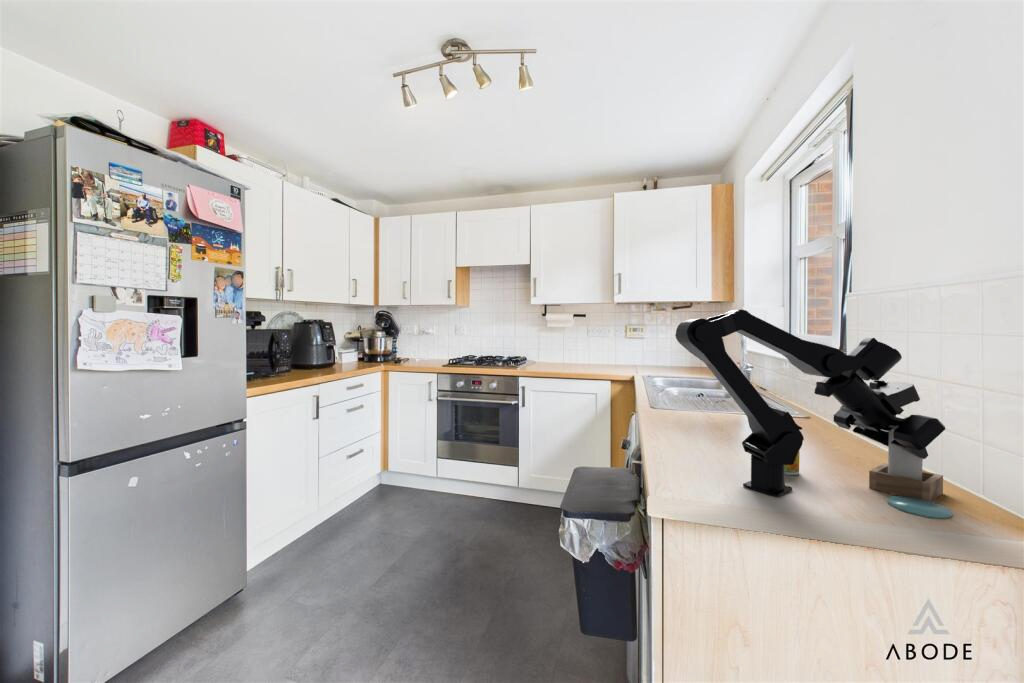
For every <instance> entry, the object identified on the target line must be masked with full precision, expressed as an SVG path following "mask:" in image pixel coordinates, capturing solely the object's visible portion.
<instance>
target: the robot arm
mask: <svg viewBox="0 0 1024 683" xmlns="http://www.w3.org/2000/svg"><path fill="white" fill-rule="evenodd" d="M733 333H737V334H739V335H742V336H743V337H746V338H747V339H749V340H752V341H754V342H756V343H758V344H760V345H762V346H764V347H766V348H768V349H769V350H772V351H774V352H776V353H778V354H780V355H782V356H783V357H785V358H786V359H787V361H788V362H789V363H790V364H791V365H792V366H793V367H795V368H797V369H798V370H799V371H801V372H802V373H804V374H806V375H809V376H817V377H823V378H825V379H823V380H822V381H816V382H815V388H814V394H815V395H818V396H821V397H826V398H830V397H831V396H832V397H833V398H834V399H836V400H837V402H839V404H840V405H841V406H840V407H839V410H838V411H837V412H835V413H834V414H833V423H834V424H836V425H837V426H838V427H839V428H842V429H845V430H847V431H848V430H850V429H852V432H853V433H855V434H858V435H860V436H862V437H865V438H867V439H869V440H871V441H874V442H877V443H879V444H881V445H883V446H886V447H888V446H889V432H890V431H891V430H892V429H894V433H893V438H894V440H893V441H892V442H891V443H892V444H894V445H896V446H898V447H900V448H902V449H904V450H906V451H908V452H910V453H912V454H914V455H916V456H918V457H920V458H922V459H923V460H925V459H927V457H929V453H928V451H927V447H928V446H929V445H930V444H931V443H932V442H934V440H936V438H938V437H939V436H940V435H941V434H942V433H943V432H944V431H945V430H946V426H945V424H944V423H942V422H941V421H940V419H938V418H935V417H930V416H926V415H921V414H911V415H909V416H906V417H904V418H902V417H897V416H898V415H899V416H900V415H901V414H902V413H903V412H904V411H905V410H904V409H903V407H905V406H907V405H909V404H912V403H917V402H919V401H921V398H920V396H919V393H918V391H917V389H916V387H915V385H914V383H909V382H901V381H888V382H885V381H884V380H882V379H881V378H883V376H885V375H886V374H888V372H889V371H890V370H891V369H893V368H894V367H895V366H896V365H897V364H898V363H899V362H900V361H901V360H902V359H903V356H902V354H901V352H900V351H898V349H896V348H893V347H892V346H890V345H888V344H886V343H884V342H881V341H879V340H877V339H876V337H864V338H863V339H862V340H861V341H860V342H859V344H858V345H857V346H855V348H854V349H853V350H852V351H851V352H849V354H846V353H845V352H844V351H843V350H841V349H839V348H836V347H832V346H830V345H826V344H823V343H817V342H813V341H809V340H805V339H802V338H800V337H798V336H796V335H793V334H792V333H789V332H788V331H786V330H784V329H781V328H780V327H777V326H776V325H774V324H772V323H769V322H767V321H766V320H763V319H761V318H759V317H757V316H755V315H754V314H751V313H750V312H749V311H748V310H745V309H734V310H729V311H727V312H724V313H722V314H719V315H715V316H711V317H707V318H691V319H685V320H683V321H681V322H680V323H679V324H678V325H677V327H676V331H675V335H674V336H675V338H676V340H677V342H678V344H680V345H681V346H682V347H683V348H684V349H685V350H687V351H688V352H689V353H690V354H691V355H693V356H694V357H696V358H697V359H699V360H700V361H701V362H703V363H704V364H705V365H706V367H708V369H709V370H710V372H711V373H712V374H713V375H714V376H715V378H716V379H717V380H718V382H719V383H720V384H721V385H722V387H723V388H724V389H725V390H726V392H727V393H728V395H730V396H731V397H732V399H733V400H734V402H735V403H736V404H737V405H738V407H739V408H740V409H741V410H742V412H743V413H744V414H745V415H746V418H747V421H748V427H749V429H750V430H751V432H752V433H750V434H749V435H748V436H747V437H746V438H745V439H744V440H742V442H741V445H742V448H743V450H744V452H745V453H748V454H750V455H751V456H750V480H749V481H746V482H743V483H742V486H743V487H744V488H749V489H751V490H754V491H757V492H760V493H764V494H766V495H770V496H773V497H780V496H783V495H785V494H788V493H789V492H791V491H793V487H792V486H789V485H786V481H785V480H786V478H785V477H786V476H785V465H793V464H794V461H795V459H796V456H797V453H798V451H799V452H800V449H801V448H802V446H803V443H804V440H805V438H804V434H803V433H802V431H801V430H803V427H801V426H800V425H798V424H797V423H796V422H795V420H794V418H793V416H792V415H791V414H790V412H788V411H786V410H782V409H778V408H775V407H772V406H770V405H769V404H768V403H767V401H766V400H765V399H764V398H763V397H762V395H761V394H760V393H759V392H758V390H757V389H756V388H755V386H754V385H753V384H752V383H751V382H750V381H749V378H747V377H746V375H745V374H744V373H743V372H742V370H741V369H740V368H739V367H738V366H737V364H736V363H735V361H734V360H733V359H732V358H731V357H730V355H729V354H728V352H727V350H726V347H725V342H724V337H727V336H729V335H732V334H733ZM870 380H871V381H870ZM866 381H869V384H868V383H867V382H866ZM852 427H853V428H852Z"/></svg>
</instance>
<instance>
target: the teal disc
mask: <svg viewBox="0 0 1024 683" xmlns="http://www.w3.org/2000/svg"><path fill="white" fill-rule="evenodd" d="M887 503H888V504H889V505H890V506H891V507H894V509H897V510H899V511H902V512H905V513H908V514H912V515H916V516H920V517H926V518H932V519H941V518H945V519H950V517H951V518H952V517H953V511H952V510H951V509H949V508H948V507H946V506H944V505H942V504H939V503H936V502H933V501H932V502H930V501H926V500H922V499H918V498H912V497H904V496H899V495H893V496H889V497H887Z"/></svg>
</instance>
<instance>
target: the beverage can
mask: <svg viewBox="0 0 1024 683" xmlns="http://www.w3.org/2000/svg"><path fill="white" fill-rule="evenodd" d="M893 433H894V429H892V430H891V431H890V432H889V446H887V447H888V451H887V452H888V454H887V464H888V474H893V475H897V476H902V477H906V478H911V479H915V480H920V481H922V471H923V460H924V459H922V458H920V457H918V456H916V455H914V454H912V453H910V452H908V451H906V450H904V449H902V448H900V447H898V446H896V445H894V444H892V443H891V442H892V441H893V440H894V438H893Z"/></svg>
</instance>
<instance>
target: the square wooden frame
mask: <svg viewBox="0 0 1024 683" xmlns="http://www.w3.org/2000/svg"><path fill="white" fill-rule="evenodd" d="M868 472H869V473H868V474H869V477H868V483H869V484H868V487H869V489H873V490H877V491H880V492H884V493H888V494H890V495H891V494H892V495H894V496H904V497H912V498H918V499H922V500H926V501H930V502H933V501H934V500H936V499H937V498H938V496H939V497H940V496H941V495H943V493H944V475H943V474H939V473H934V472H930V471H923V470H922V481H920V480H915V479H911V478H906V477H902V476H897V475H893V474H888V463H882V464H880V465H878V466H875V467H874V468H872V469H870V470H868Z"/></svg>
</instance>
